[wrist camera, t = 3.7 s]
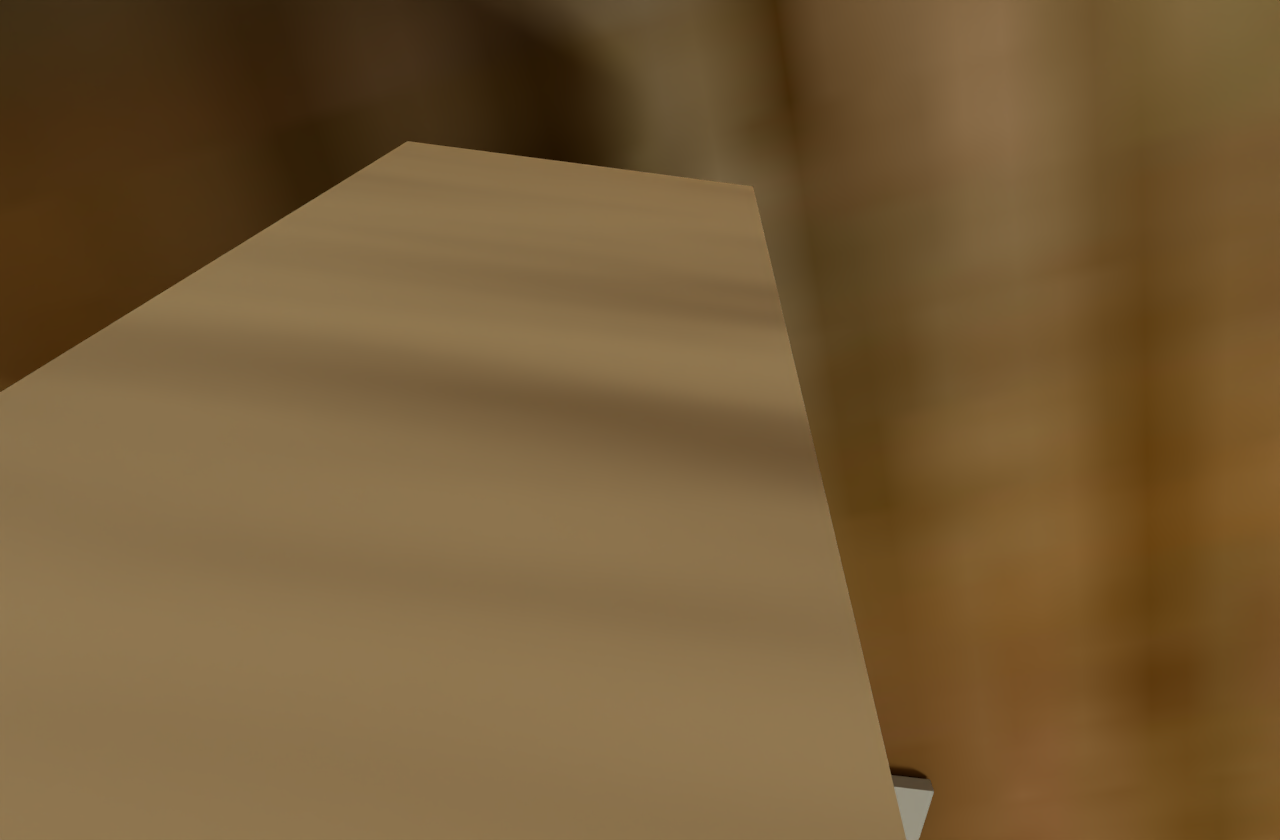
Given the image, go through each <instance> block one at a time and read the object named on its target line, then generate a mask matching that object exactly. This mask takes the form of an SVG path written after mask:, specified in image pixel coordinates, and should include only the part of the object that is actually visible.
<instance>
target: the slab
mask: <svg viewBox="0 0 1280 840" xmlns="http://www.w3.org/2000/svg"><path fill="white" fill-rule="evenodd" d="M0 840H906V836H905V832H904V828H903V823H902V819H901V815H900V811H899V806H898V802H897V798H896V794H895V789H894V785H893V781H892V777H891V772H890V768H889V764H888V760H887V755H886V751H885V747H884V743H883V738H882V734H881V730H880V725H879V721H878V717H877V713H876V708H875V704H874V700H873V696H872V691H871V687H870V683H869V679H868V674H867V670H866V666H865V662H864V657H863V653H862V649H861V645H860V640H859V636H858V632H857V627H856V623H855V619H854V615H853V610H852V606H851V602H850V598H849V593H848V589H847V585H846V581H845V576H844V572H843V568H842V564H841V559H840V555H839V551H838V547H837V542H836V538H835V534H834V529H833V525H832V521H831V517H830V512H829V508H828V504H827V500H826V495H825V491H824V487H823V483H822V478H821V474H820V470H819V466H818V461H817V457H816V453H815V449H814V444H813V440H812V436H811V431H810V427H809V423H808V419H807V414H806V410H805V406H804V402H803V397H802V393H801V389H800V385H799V380H798V376H797V372H796V368H795V363H794V359H793V355H792V351H791V346H790V342H789V338H788V333H787V329H786V325H785V321H784V316H783V312H782V308H781V304H780V299H779V295H778V291H777V287H776V282H775V278H774V274H773V270H772V265H771V261H770V257H769V253H768V248H767V244H766V240H765V235H764V231H763V227H762V223H761V218H760V214H759V210H758V206H757V201H756V197H755V193H754V189H753V186H746V185H739V184H731V183H724V182H716V181H708V180H701V179H693V178H685V177H678V176H670V175H662V174H655V173H647V172H640V171H632V170H624V169H617V168H609V167H601V166H594V165H586V164H578V163H571V162H563V161H556V160H548V159H540V158H533V157H525V156H517V155H510V154H502V153H494V152H487V151H479V150H472V149H464V148H456V147H449V146H441V145H433V144H426V143H418V142H410V141H407V142H405V143H404V144H402V145H400V146H399V147H397V148H396V149H394V150H392V151H391V152H389V153H388V154H386V155H384V156H383V157H381V158H379V159H378V160H376V161H375V162H373V163H371V164H370V165H368V166H366V167H365V168H363V169H362V170H360V171H358V172H357V173H355V174H353V175H352V176H350V177H349V178H347V179H345V180H344V181H342V182H340V183H339V184H337V185H336V186H334V187H332V188H331V189H329V190H328V191H326V192H324V193H323V194H321V195H319V196H318V197H316V198H315V199H313V200H311V201H310V202H308V203H306V204H305V205H303V206H302V207H300V208H298V209H297V210H295V211H293V212H292V213H290V214H289V215H287V216H285V217H284V218H282V219H280V220H279V221H277V222H276V223H274V224H272V225H271V226H269V227H268V228H266V229H264V230H263V231H261V232H259V233H258V234H256V235H255V236H253V237H251V238H250V239H248V240H246V241H245V242H243V243H242V244H240V245H238V246H237V247H235V248H233V249H232V250H230V251H229V252H227V253H225V254H224V255H222V256H220V257H219V258H217V259H216V260H214V261H212V262H211V263H209V264H208V265H206V266H204V267H203V268H201V269H199V270H198V271H196V272H195V273H193V274H191V275H190V276H188V277H186V278H185V279H183V280H182V281H180V282H178V283H177V284H175V285H173V286H172V287H170V288H169V289H167V290H165V291H164V292H162V293H160V294H159V295H157V296H156V297H154V298H152V299H151V300H149V301H148V302H146V303H144V304H143V305H141V306H139V307H138V308H136V309H135V310H133V311H131V312H130V313H128V314H126V315H125V316H123V317H122V318H120V319H118V320H117V321H115V322H113V323H112V324H110V325H109V326H107V327H105V328H104V329H102V330H100V331H99V332H97V333H96V334H94V335H92V336H91V337H89V338H88V339H86V340H84V341H83V342H81V343H79V344H78V345H76V346H75V347H73V348H71V349H70V350H68V351H66V352H65V353H63V354H62V355H60V356H58V357H57V358H55V359H53V360H52V361H50V362H49V363H47V364H45V365H44V366H42V367H40V368H39V369H37V370H36V371H34V372H32V373H31V374H29V375H28V376H26V377H24V378H23V379H21V380H19V381H18V382H16V383H15V384H13V385H11V386H10V387H8V388H6V389H5V390H3V391H2V392H0Z"/></svg>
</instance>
